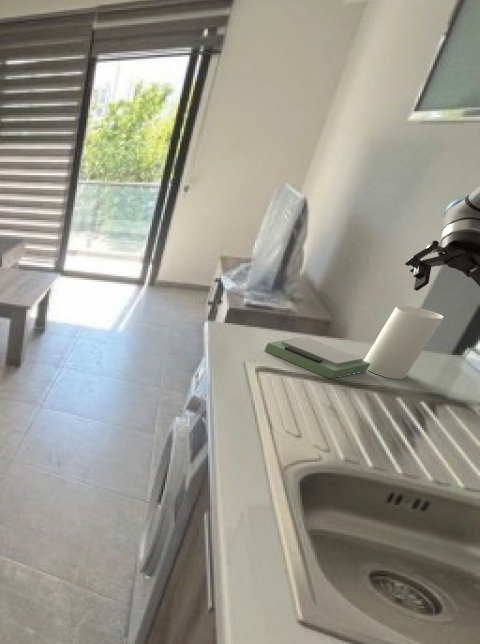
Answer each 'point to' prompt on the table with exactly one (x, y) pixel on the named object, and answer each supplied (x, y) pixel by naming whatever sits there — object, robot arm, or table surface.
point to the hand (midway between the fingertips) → (455, 299)
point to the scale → (317, 357)
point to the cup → (402, 341)
